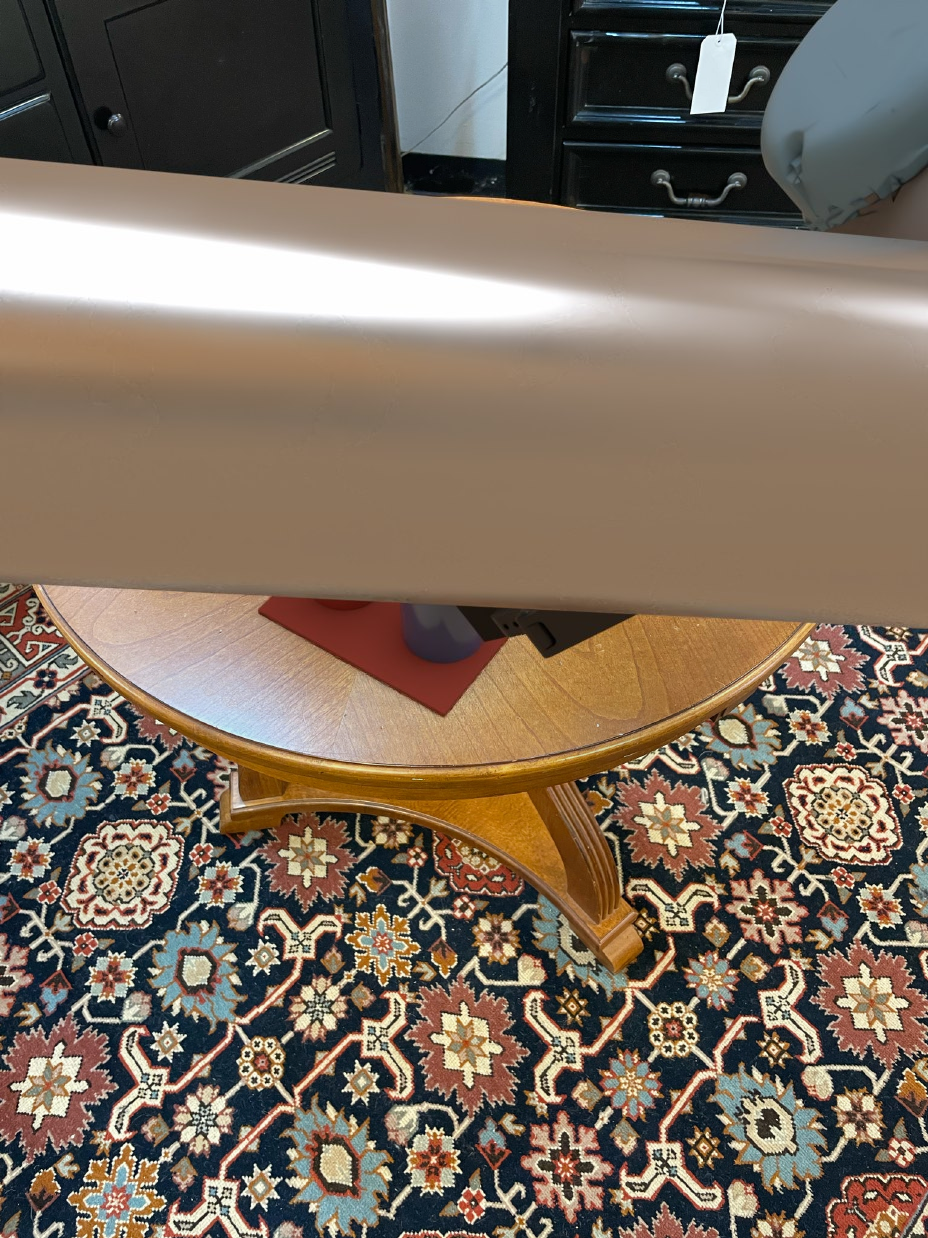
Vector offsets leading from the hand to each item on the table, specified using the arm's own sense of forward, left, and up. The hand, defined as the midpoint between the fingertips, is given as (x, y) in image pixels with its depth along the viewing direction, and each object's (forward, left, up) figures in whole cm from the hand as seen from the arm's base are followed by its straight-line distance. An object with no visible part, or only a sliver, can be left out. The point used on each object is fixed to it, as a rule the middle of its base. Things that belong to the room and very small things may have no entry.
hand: (535, 547), depth 57 cm
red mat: (-13, +3, -17) cm, 22 cm away
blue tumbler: (-9, +3, -17) cm, 19 cm away
